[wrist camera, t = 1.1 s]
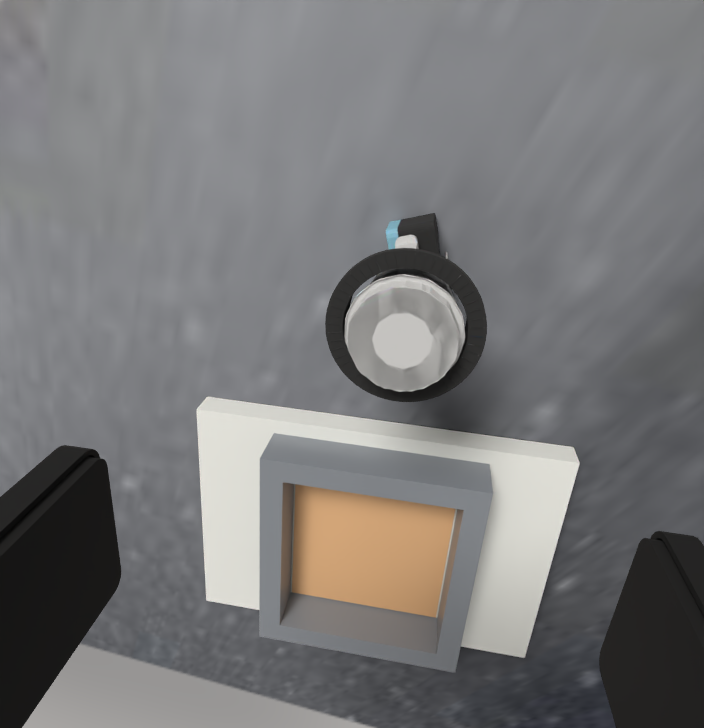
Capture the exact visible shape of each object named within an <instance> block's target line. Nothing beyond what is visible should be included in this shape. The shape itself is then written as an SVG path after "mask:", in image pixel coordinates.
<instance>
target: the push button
mask: <svg viewBox="0 0 704 728" xmlns="http://www.w3.org/2000/svg"><path fill="white" fill-rule="evenodd" d="M386 236H387V242H388V247H389V250H385V251H382V252H378V253H376V254H373V255H371V256H369V257H367V258H365V259H363V260H362V261H360V262H359V263H357V264H356V265H355V266H354V267H352V268H351V269H350V270H349V271H348V272H347V273H346V274H345V275H344V277H343V278H342V279H341V281H340V282H339V284H338V285H337V287H336V288H335V290H334V292H333V294H332V296H331V299H330V301H329V305H328V308H327V313H326V323H325V325H326V336H327V341H328V345H329V348H330V351H331V353H332V356H333V358H334V360H335V362H336V363H337V365H338V366H339V368H340V369H341V370H342V372H343V373H344V374H345V375H346V376H347V377H348V378H349V379H350V380H351V381H352V382H353V383H355V384H356V385H357V386H359V387H360V388H362V389H363V390H365V391H367V392H368V393H370V394H373V395H375V396H377V397H380V398H384V399H387V400H392V401H399V402H416V401H423V400H428V399H431V398H435V397H437V396H440V395H442V394H444V393H446V392H448V391H450V390H451V389H453V388H455V387H456V386H457V385H459V384H460V383H461V382H462V381H463V380H464V379H465V378H466V377H467V376H468V375H469V374H470V373H471V372H472V370H473V369H474V367H475V366H476V364H477V363H478V361H479V359H480V357H481V354H482V352H483V349H484V345H485V341H486V334H487V322H486V314H485V309H484V305H483V302H482V299H481V296H480V294H479V292H478V290H477V288H476V287H475V285H474V283H473V282H472V281H471V279H470V278H469V277H468V275H467V274H466V273H465V272H464V271H463V270H462V269H460V268H459V267H458V266H457V265H456V264H454V263H453V262H451V261H450V260H448V255H447V252H445V258H444V257H442V256H440V254H439V242H438V229H437V222H436V216H435V213H433V214H428V215H423V216H418V217H413V218H407V219H402V220H397V221H392V222H389V225H388V227H387V229H386ZM375 275H377V276H376V277H375V278H374V279H373V281H372V282H371V283H370V285H369V286H368V287H366V288H365V289H364V290H362V291H361V292H360V293H359V294H358V295H357V296H356V297H355V299H354V301H353V303H352V305H351V306H350V303H351V299H352V295H353V294H354V292H355V291H356V290H357V289H358V288H359V287H360V286H361V285H362V284H363V283H364V282H365V281H367V280H368V279H370V278H371V277H373V276H375ZM450 287H451V288H452V289H453V290H454V292H455V293H456V294H457V295H458V297H459V298H460V300H461V302H462V304H463V306H464V308H465V311H466V315H467V320H466V326H465V330H464V320H463V316H462V313H461V311H460V309H459V308H458V306H457V302H456V300H455V298H454V296H453V294H452V292H451V290H450Z"/></svg>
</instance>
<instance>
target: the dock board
mask: <svg viewBox="0 0 704 728" xmlns="http://www.w3.org/2000/svg"><path fill="white" fill-rule="evenodd" d="M197 427H198V446H199V466H200V485H201V505H202V524H203V543H204V563H205V582H206V600H207V601H212V602H218V603H223V604H229V605H235V606H240V607H246V608H251V609H257V610H259V636H260V637H266V638H271V639H276V640H282V641H287V642H292V643H298V644H303V645H309V646H314V647H319V648H325V649H330V650H335V651H341V652H346V653H351V654H357V655H362V656H368V657H373V658H378V659H384V660H389V661H394V662H400V663H405V664H410V665H416V666H421V667H427V668H432V669H437V670H443V671H448V672H453V673H455V671H456V666H457V662H458V657H459V652H460V648H461V647H467V648H472V649H478V650H483V651H489V652H494V653H500V654H505V655H511V656H516V657H522V658H525V655H526V651H527V648H528V644H529V641H530V637H531V634H532V630H533V626H534V623H535V619H536V616H537V612H538V609H539V605H540V602H541V598H542V595H543V591H544V588H545V584H546V580H547V577H548V573H549V570H550V566H551V563H552V559H553V556H554V552H555V549H556V545H557V542H558V538H559V534H560V531H561V527H562V524H563V520H564V517H565V513H566V510H567V506H568V503H569V499H570V496H571V492H572V489H573V485H574V481H575V478H576V474H577V471H578V467H579V464H580V463H579V460H578V458H577V455H576V452H575V450H574V447H569V446H562V445H554V444H547V443H540V442H533V441H525V440H518V439H511V438H504V437H496V436H489V435H482V434H475V433H467V432H460V431H453V430H446V429H438V428H431V427H424V426H417V425H409V424H402V423H395V422H388V421H380V420H373V419H366V418H359V417H351V416H344V415H337V414H330V413H322V412H315V411H308V410H301V409H293V408H286V407H279V406H272V405H264V404H257V403H250V402H243V401H235V400H228V399H221V398H214V397H207V398H206V399H205V400H204V401H203V402H202V403H201V405H200V406H199V407H198V408H197Z"/></svg>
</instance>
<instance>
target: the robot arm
mask: <svg viewBox="0 0 704 728" xmlns="http://www.w3.org/2000/svg"><path fill="white" fill-rule="evenodd" d="M120 578H121V565H120V557H119V550H118V542H117V535H116V527H115V520H114V512H113V505H112V497H111V490H110V482H109V475H108V467H107V463H106V461H105V460H104V459H100V457H99V454H98V452H97V451H96V450H93V449H88V448H81V447H74V446H67V445H64V446H60V447H59V448H57V449H56V450H54V451H53V452H52V453H51V454H50V455H49V456H47V457H46V458H45V459H44V460H43V461H42V462H40V463H39V464H38V465H37V466H36V467H35V468H34V469H32V470H31V471H30V472H29V473H28V474H27V475H25V476H24V477H23V478H22V479H21V480H20V481H18V482H17V483H16V484H15V485H14V486H13V487H11V488H10V489H9V490H8V491H7V492H6V493H4V494H3V495H2V496H1V497H0V728H22V726H23V725H24V724H25V722H26V721H27V719H28V718H29V716H30V715H31V714H32V712H33V711H34V709H35V708H36V706H37V705H38V703H39V702H40V700H41V699H42V698H43V696H44V695H45V693H46V692H47V690H48V689H49V687H50V686H51V684H52V683H53V682H54V680H55V679H56V677H57V676H58V674H59V673H60V671H61V670H62V668H63V667H64V665H65V664H66V663H67V661H68V660H69V658H70V657H71V655H72V653H73V652H74V651H75V649H76V648H77V647H78V645H79V644H80V642H81V641H82V639H83V638H84V636H85V635H86V633H87V632H88V631H89V629H90V628H91V626H92V625H93V623H94V622H95V620H96V619H97V617H98V616H99V614H100V613H101V612H102V610H103V609H104V607H105V606H106V604H107V603H108V601H109V600H110V598H111V597H112V596H113V594H114V593H115V591H116V589H117V587H118V585H119V581H120ZM599 665H600V672H601V677H602V680H603V684H604V687H605V690H606V694H607V697H608V701H609V704H610V708H611V711H612V714H613V718H614V721H615V725H616V728H704V546H703V544H702V543H701V541H700V540H699V539H698V538H696V537H694V536H690V535H683V534H676V533H669V532H662V531H657V532H655V533H654V534H653V535H652V537H651V538H650V539H648V538H644V539H642V540H641V541H640V543H639V545H638V548H637V551H636V554H635V557H634V559H633V562H632V565H631V568H630V570H629V573H628V576H627V579H626V581H625V584H624V587H623V590H622V593H621V595H620V598H619V601H618V604H617V606H616V609H615V612H614V615H613V618H612V620H611V623H610V626H609V629H608V631H607V634H606V637H605V640H604V642H603V645H602V648H601V652H600V658H599Z"/></svg>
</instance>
